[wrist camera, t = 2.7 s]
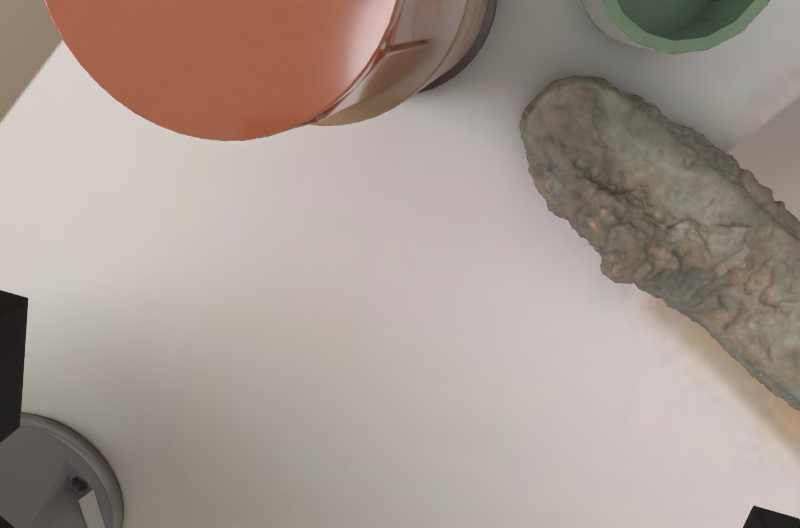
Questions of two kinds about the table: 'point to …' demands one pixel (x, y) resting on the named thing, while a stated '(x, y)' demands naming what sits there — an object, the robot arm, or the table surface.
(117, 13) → the terracotta cylinder
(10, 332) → the robot arm
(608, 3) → the green cup
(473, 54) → the towel holder
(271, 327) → the table surface
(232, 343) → the table surface
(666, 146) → the elongated rock
